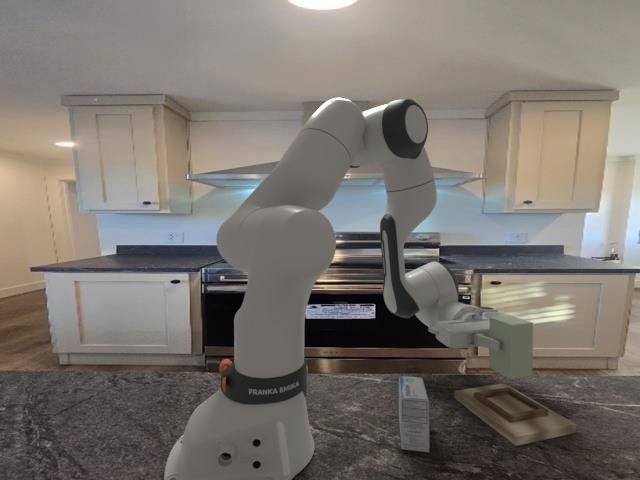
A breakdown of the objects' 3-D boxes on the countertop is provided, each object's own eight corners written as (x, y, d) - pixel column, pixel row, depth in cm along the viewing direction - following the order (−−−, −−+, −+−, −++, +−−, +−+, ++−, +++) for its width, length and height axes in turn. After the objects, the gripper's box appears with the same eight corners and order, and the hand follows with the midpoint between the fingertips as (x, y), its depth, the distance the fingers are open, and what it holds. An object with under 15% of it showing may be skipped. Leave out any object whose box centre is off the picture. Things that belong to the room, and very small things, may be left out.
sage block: (510, 379, 56) (511, 325, 56) (489, 367, 61) (489, 317, 60) (532, 375, 57) (533, 322, 57) (509, 364, 62) (510, 315, 62)
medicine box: (429, 454, 48) (430, 400, 48) (400, 450, 49) (400, 397, 49) (423, 423, 56) (423, 377, 56) (398, 420, 57) (398, 374, 57)
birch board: (515, 445, 50) (516, 430, 50) (454, 397, 65) (454, 386, 65) (575, 432, 53) (576, 418, 53) (504, 389, 68) (504, 378, 68)
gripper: (423, 313, 69) (468, 333, 55) (498, 306, 74) (555, 323, 60) (423, 341, 69) (467, 367, 55) (498, 332, 74) (555, 355, 61)
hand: (514, 344), depth 58 cm, fingers closed on sage block, 5 cm apart
